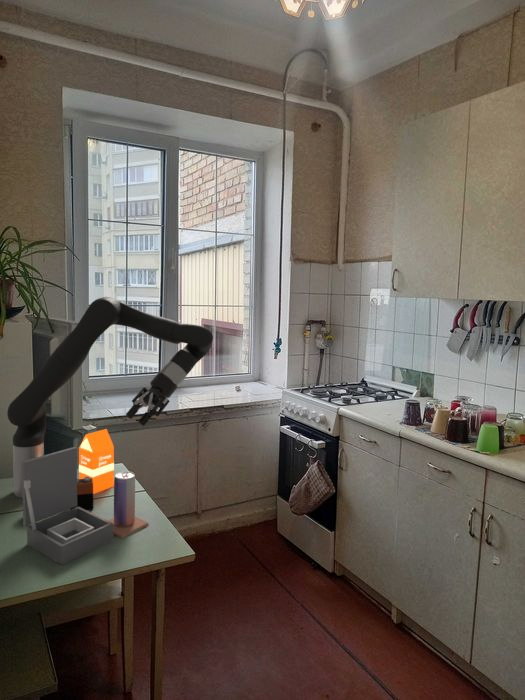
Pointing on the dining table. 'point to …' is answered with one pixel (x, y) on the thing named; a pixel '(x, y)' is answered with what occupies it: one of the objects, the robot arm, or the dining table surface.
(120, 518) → the beverage can
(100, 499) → the dining table surface
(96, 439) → the orange juice
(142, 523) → the mat
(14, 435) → the robot arm
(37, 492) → the equipment case
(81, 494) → the battery
